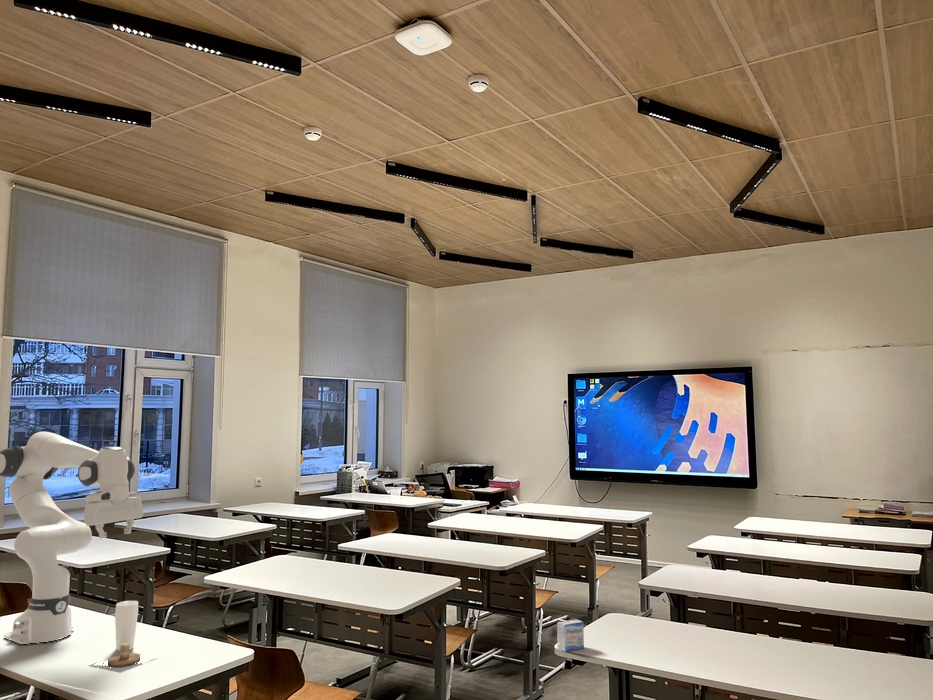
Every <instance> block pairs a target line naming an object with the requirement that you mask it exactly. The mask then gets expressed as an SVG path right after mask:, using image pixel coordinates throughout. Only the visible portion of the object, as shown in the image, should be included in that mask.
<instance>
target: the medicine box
mask: <svg viewBox="0 0 933 700" xmlns="http://www.w3.org/2000/svg"><path fill="white" fill-rule="evenodd" d="M584 627H585V626H584V621H582V620H579V619H577V618H576V619H575V618H574V619H570V620H564V621H558V622H556V629H557V630H556V632H557V633H556V636H557V649H558V650H561V651H562V652H565V653H567V652H573V651H577V650H584V648H585V637H584V635H585V634H584ZM559 643H560V644H559Z"/></svg>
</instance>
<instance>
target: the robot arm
mask: <svg viewBox="0 0 933 700" xmlns="http://www.w3.org/2000/svg"><path fill="white" fill-rule="evenodd" d="M27 440H28V441H27V442H26V445H25V446H24V445H23V446H19V445H14V446H12V447H8V448H5V449H2V450H0V477H3V478H4V477H5V478H13V477H16V478H14V479H13V480H12V482H11V483H10V485H9V487H8V488H9V489H8V490H9V494H10V498H11V500H12V504H13V506H14V508H15V510H16V512H17V514H18V516H19V518H20V519H21V521H22V522H23V524H24V525H25V526H26V527H28V529H25V530H22V531H20V532H18V533H19V534H17V536H16V537H15V540H14V544H13V545H14V546H13V547H14V551H15V553H16V555H17V557H19V558H20V559H22V560H23V561H24V562H26V564H27V565H28V566H29V568H30V571H31V575H32V595H31V598H27V602H26V603H28V605H27V609H26V610H24V611H23V612H22V613H21V614H20V615H18V616H17V617H16V618H15V619H14V620H13V625H12V631H10V632H8V633H6V634H4V635H3V638H4V637H6V638H8V639H11V640H13V641H15V642H17V643H19V644H28V645H30V644H29V643H37V644H40V643H39V642H47V643H49V642H48V641H52V640H57V639H59V638H62V637H65V636H67V635H69V634H70V633H71V634H72V632H71V630H72V629H73V628H74V626H73V627H72V609H71V607H70V606H69V605H70V603H71V602H70V601H71V593H69V592H70V577H71V573H70V570H68V568H66V567H64V566H62V565H59V563H58V560H57V559H58V558H57V556H61V555H65V554H66V555H67V554H72V553H76V552H78V551H81V550H84V549H85V548H87V547H88V546H89V545H90V543H91V540H92V538H93V537H92V536H93V533H92V530H91V527H90V526H95V530H96V531H97V533H98V538H99V539H105V538H107V537H108V534H107V533H108V532H107V531H104V527H105V524H111V523H118V522H123V521H125V522H126V527H125V528H123V534H124V535H129V534H131V533H132V528H133V526H134V523H135V519H136V520H138V519H141V518H143V516H144V509H143V502H142V496H141V494H140V493H139V492H137V491H132V492H130V491H129V490H130V485H129V482H130V481H131V480H132V479H133V477H134V475H135V473H136V467H135V464H134V462H133V461H132V460H131V459H130V457H128V456H127V451H126V449H125V448H124V447H121V446H103V447H101V448H100V449H99V450H98V449H96V448H91V447H88V446H85V445H84V444H80V443H78V442H75V441H73V440H71V439H69V438H67V437H64V436H62V435H60V434H58V433H54V432H51V431H50V432H49V431H39V432H36V433H34V434H32V435H31V436H30V438H28V439H27ZM71 468H78V470H77V475H78V476H77V477H78V480H79V482H80V483H81V484H82V485H83V486H84V487H89V488H90V487H91V488H92V487H94V488H95V487H99V490H97V491H95V492H93V493H90V494H88V495H86V496H85V497H84V501H85V503H86V504H85V506H84V513H83V521H84V522H83V521H79V520H76V519H75V518H73V517H71V516H69V515H68V514H66V513H65V512H63V511H62V510H61V509H60V508H59V507H58V505H56V503H55V502H54V500H53V498H52V496H51V495H50V493H49V492H48V491H47V489H46V487H45V486H44V483H43V481H44V480H49V479H51V478H52V476H53V475H54V474H55V473H56V472H57V471H58V470H59V469H71ZM57 641H58V640H57ZM17 643H16V644H17ZM19 644H18V645H19Z"/></svg>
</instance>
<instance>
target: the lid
mask: <svg viewBox="0 0 933 700" xmlns="http://www.w3.org/2000/svg"><path fill="white" fill-rule="evenodd" d="M139 661H140V653H136V652H131V650H130V643H124V644H121V645H120V651H119V654H116V655H113V656H110V657H109V658H108V665H109V666H112V667H122V666H128V665H132V664H135V663H137V662H139Z"/></svg>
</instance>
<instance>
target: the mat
mask: <svg viewBox="0 0 933 700" xmlns="http://www.w3.org/2000/svg"><path fill="white" fill-rule="evenodd" d="M96 663H97V662H96ZM96 663H92V664H89V665H88V667H92V668H97V667H99V668H97V669H102V670H105V669H106V670H105V671H111V672H115V673H123V672H126V671H128V670H131V669H135V668H136V667H139V666H142V665H143V664H142V663H140V664H138V663H136V664H132V665H128V666H122V667H112V666H109V665H108V666H106V665H105V666H103V665H102V666H100V665H99V666H98V665H97V666H95V665H94V664H96ZM103 664H104V663H103ZM93 665H94V666H93ZM110 667H111V668H110Z"/></svg>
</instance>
